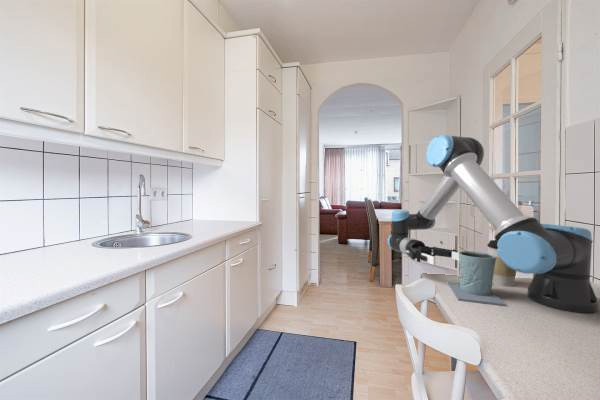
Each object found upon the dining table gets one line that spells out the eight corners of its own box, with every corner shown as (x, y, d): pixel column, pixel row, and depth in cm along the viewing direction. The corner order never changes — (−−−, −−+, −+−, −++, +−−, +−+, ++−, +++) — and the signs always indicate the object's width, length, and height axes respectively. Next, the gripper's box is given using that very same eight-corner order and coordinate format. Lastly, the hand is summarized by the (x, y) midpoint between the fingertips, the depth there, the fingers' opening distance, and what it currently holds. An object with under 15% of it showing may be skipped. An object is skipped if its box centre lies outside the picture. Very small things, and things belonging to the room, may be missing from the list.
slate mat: (486, 287, 93) (486, 285, 93) (505, 306, 78) (505, 303, 78) (447, 283, 97) (447, 281, 97) (458, 300, 82) (458, 298, 82)
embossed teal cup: (451, 288, 90) (452, 253, 90) (467, 283, 95) (468, 249, 95) (485, 299, 82) (486, 259, 81) (500, 292, 87) (501, 255, 87)
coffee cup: (527, 286, 94) (528, 244, 94) (506, 289, 92) (507, 245, 91) (499, 278, 104) (500, 239, 103) (479, 280, 101) (480, 240, 100)
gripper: (437, 255, 120) (478, 268, 100) (387, 257, 115) (420, 272, 94) (437, 238, 120) (479, 248, 99) (387, 240, 114) (420, 251, 94)
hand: (450, 260), depth 97 cm, fingers open, 13 cm apart
